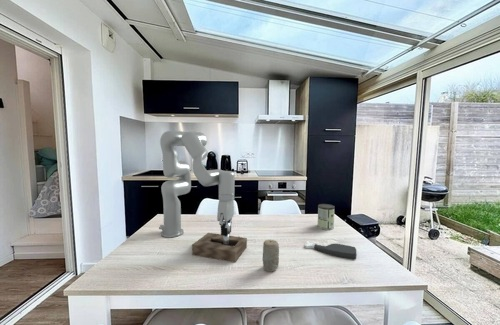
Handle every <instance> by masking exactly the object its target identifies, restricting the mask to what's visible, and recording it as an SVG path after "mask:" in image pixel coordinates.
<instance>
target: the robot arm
mask: <svg viewBox="0 0 500 325" xmlns="http://www.w3.org/2000/svg"><path fill="white" fill-rule="evenodd" d="M207 143H208V138H207V136H206V134H204V133H203V132H197V131H181V130H167V131H165V132H163V133H162V135H161V136H160V140H159V145H160V149H161V154H162V171H163V175H164V177H165V178H167V179H168V178H169V180H166V181H165V182H163V183H162V185H161V187H160V188H161V191H160V192H161V195H162V205H163V224H159V226H158V230H162V231H161V232H160V235H161V237H163V238H167V239H168V238H176V237H179V236H182V235H184V229H183V228H182V220H181V219H182V208H181V207H182V206H181V200H180V199H179V198H178V197H179V196H182V195H186V194H189V193H190V192H191V189H192V178H191V177H192V176H191V167H190V164H189V163H188V162H187V161H185V160H179V153H178V150H177V149H176V148H175V147H184V148H185V150H186V151H187V152H188V154H189V155H190V157H191V158H192V173H193V174H194V176H195V178H196V179H197V181H198V183H199V184H201V185H202V186H203V187H211V186H216V185H217V186H218V203H217V204H218V205H217V217H216V218H217V219H216V220H217V222H219V223H218V225H220V234H221V235H222V236H227V230H228V228H227V222H230V233H231V232H232V223H233V222H232V219H233V217H234V215H235V209H234V208H235V206H234V201H235V182H236V181H235V179H236V178H235V172H234V171H231V170H224V169H223V170H222V169H208V170H207V168H205V166H204V164H203V162H202V161H203V160H205V159H206V158H207V156H208V154H209V153H208V150H207V149H206V145H207ZM172 178H177V179H172ZM223 222H224V223H225V224H224V223H223Z"/></svg>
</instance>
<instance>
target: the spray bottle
mask: <svg viewBox="0 0 500 325" xmlns="http://www.w3.org/2000/svg"><path fill="white" fill-rule="evenodd" d="M304 248H305V249H314V250H316V251H318V252H320V253H324V254H327V255H329V256H335V257H338V258H343V259H350V260H356V259H357V248H356V247H355V246H352V245H348V244H347V245H346V244H341V243H331V244H327V245H320V244H317V242H316V243H315V242H310V241H309V240H306V242H305V243H304Z"/></svg>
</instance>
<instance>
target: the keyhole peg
mask: <svg viewBox="0 0 500 325" xmlns="http://www.w3.org/2000/svg"><path fill="white" fill-rule="evenodd" d="M223 223H224V222H223ZM224 224H225V223H224ZM227 228H228V230H227V236H223V245H226V246H229V236H230V234H231V232H230V222H227Z"/></svg>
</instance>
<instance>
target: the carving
mask: <svg viewBox="0 0 500 325" xmlns="http://www.w3.org/2000/svg"><path fill="white" fill-rule="evenodd" d="M262 244H263V247H262V266H263V267H262V268H263V270H265V271H266V272H274V271H276V270H277V269H278V268H279V265H280V264H279V263H280V246H279V242H278V241H277V240H274V239H265V240H264V241H263V243H262Z"/></svg>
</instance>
